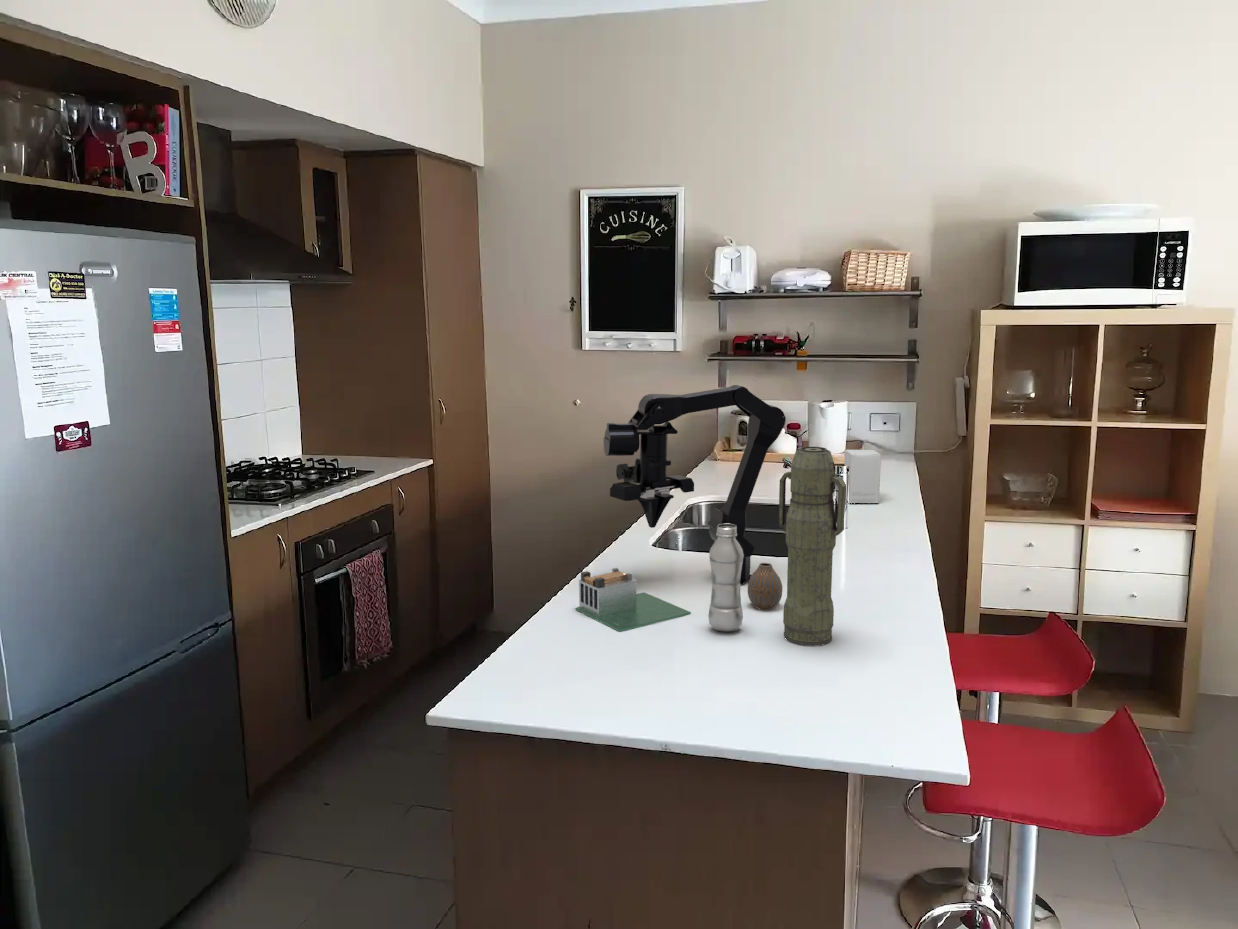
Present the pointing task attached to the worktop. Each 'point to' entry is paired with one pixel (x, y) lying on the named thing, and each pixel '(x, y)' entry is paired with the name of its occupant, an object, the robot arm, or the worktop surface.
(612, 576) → the tan flat bar
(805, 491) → the thermos
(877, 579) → the worktop surface
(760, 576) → the vase
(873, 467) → the supplement box
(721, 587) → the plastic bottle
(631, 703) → the worktop surface
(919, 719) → the worktop surface
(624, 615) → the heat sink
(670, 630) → the worktop surface
